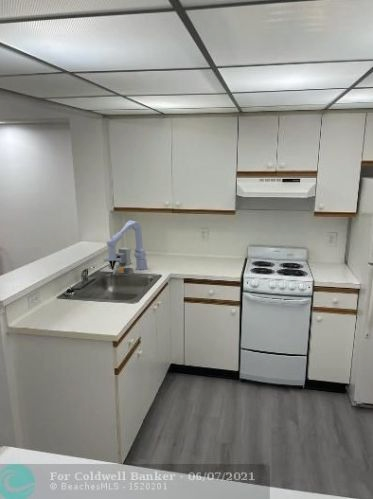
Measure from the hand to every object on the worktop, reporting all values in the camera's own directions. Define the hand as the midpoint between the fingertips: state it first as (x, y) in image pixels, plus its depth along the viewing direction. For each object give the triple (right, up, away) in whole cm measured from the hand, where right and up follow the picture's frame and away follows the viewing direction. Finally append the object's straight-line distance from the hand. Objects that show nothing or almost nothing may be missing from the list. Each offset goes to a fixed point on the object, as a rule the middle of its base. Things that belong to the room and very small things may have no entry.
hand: (112, 269), depth 295 cm
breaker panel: (+7, -3, +9) cm, 11 cm away
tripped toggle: (+7, -3, +2) cm, 8 cm away
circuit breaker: (+3, +2, +31) cm, 31 cm away
